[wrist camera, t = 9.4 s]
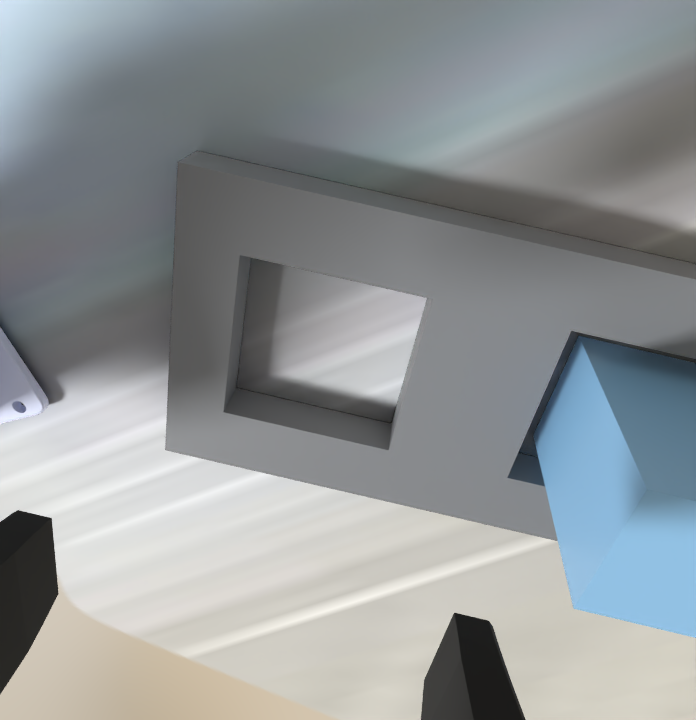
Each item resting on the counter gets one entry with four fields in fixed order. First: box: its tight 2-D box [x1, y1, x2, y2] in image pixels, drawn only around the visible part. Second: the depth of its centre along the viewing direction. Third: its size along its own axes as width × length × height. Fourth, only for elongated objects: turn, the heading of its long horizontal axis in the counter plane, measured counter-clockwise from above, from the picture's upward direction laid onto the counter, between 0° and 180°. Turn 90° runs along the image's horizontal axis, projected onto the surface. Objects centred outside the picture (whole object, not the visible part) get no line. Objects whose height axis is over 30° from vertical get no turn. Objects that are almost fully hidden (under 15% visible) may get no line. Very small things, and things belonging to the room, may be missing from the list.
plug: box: [533, 336, 696, 638], centre depth 17 cm, size 4×4×7 cm
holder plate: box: [165, 151, 696, 541], centre depth 19 cm, size 10×19×2 cm, turn 79°
